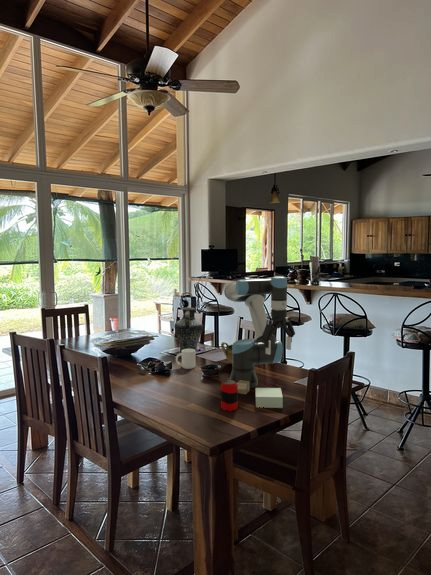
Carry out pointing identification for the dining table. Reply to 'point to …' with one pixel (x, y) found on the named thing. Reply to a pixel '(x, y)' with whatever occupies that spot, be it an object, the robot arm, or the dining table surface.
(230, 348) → the olive yellow teapot
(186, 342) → the jug
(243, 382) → the maple cube
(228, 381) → the soda can
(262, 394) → the green block
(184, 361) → the mug
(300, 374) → the dining table surface
